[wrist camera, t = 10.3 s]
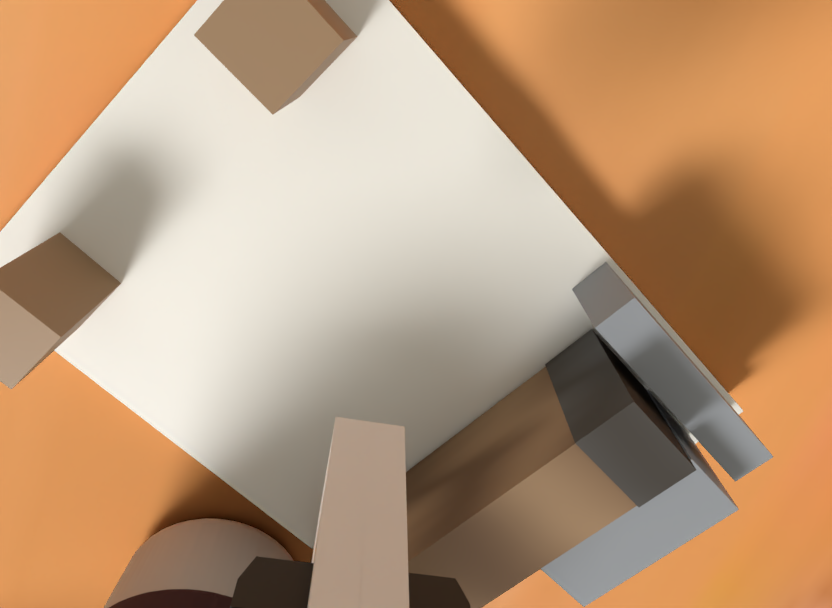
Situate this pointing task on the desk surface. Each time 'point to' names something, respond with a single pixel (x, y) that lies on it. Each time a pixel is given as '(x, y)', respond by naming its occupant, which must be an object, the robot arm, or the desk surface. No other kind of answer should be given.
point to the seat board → (334, 269)
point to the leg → (539, 473)
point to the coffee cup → (192, 565)
